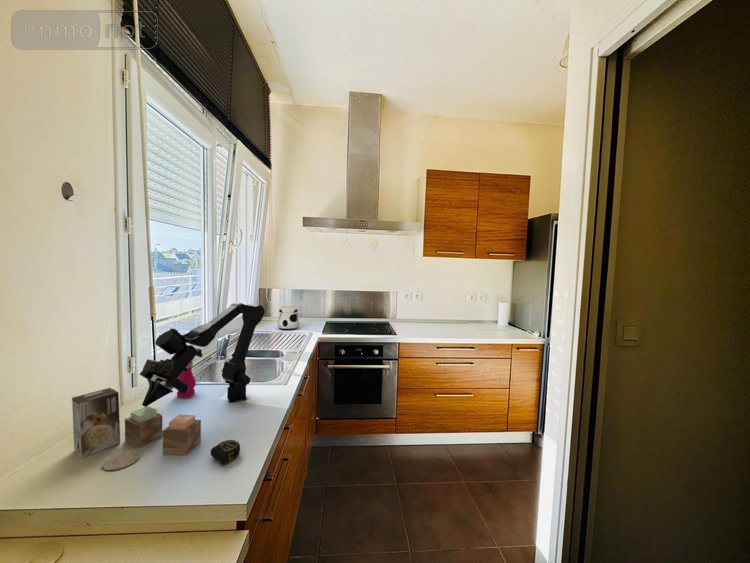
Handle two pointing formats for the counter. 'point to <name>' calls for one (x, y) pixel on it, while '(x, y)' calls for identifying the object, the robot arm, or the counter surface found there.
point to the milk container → (288, 317)
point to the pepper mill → (188, 382)
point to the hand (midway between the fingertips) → (143, 405)
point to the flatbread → (121, 461)
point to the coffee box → (96, 421)
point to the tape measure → (226, 451)
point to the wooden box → (181, 439)
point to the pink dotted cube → (182, 422)
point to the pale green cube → (143, 414)
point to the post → (143, 431)
